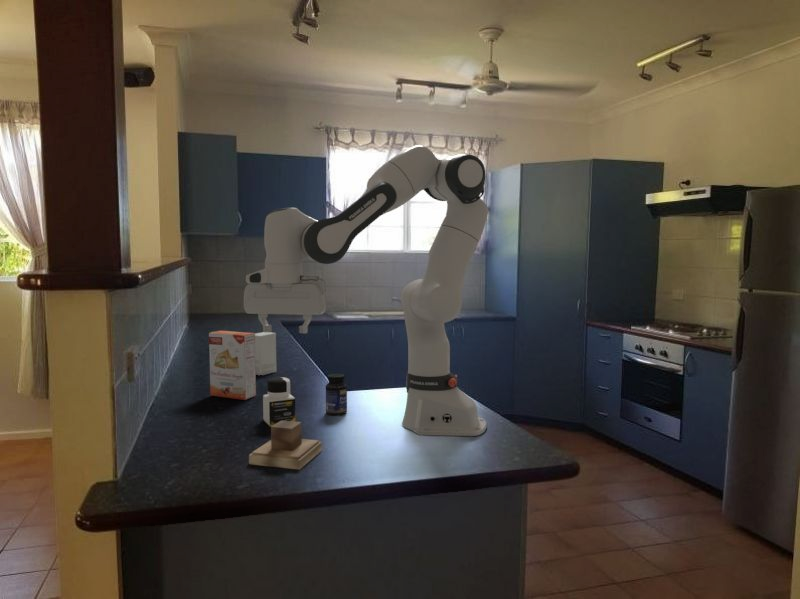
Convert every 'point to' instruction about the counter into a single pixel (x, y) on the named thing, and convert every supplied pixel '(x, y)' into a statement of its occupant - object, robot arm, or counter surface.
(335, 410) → the pill bottle
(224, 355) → the cracker box
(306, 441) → the square wooden base
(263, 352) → the skincare box
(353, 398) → the counter surface
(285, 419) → the medicine bottle
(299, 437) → the cube
